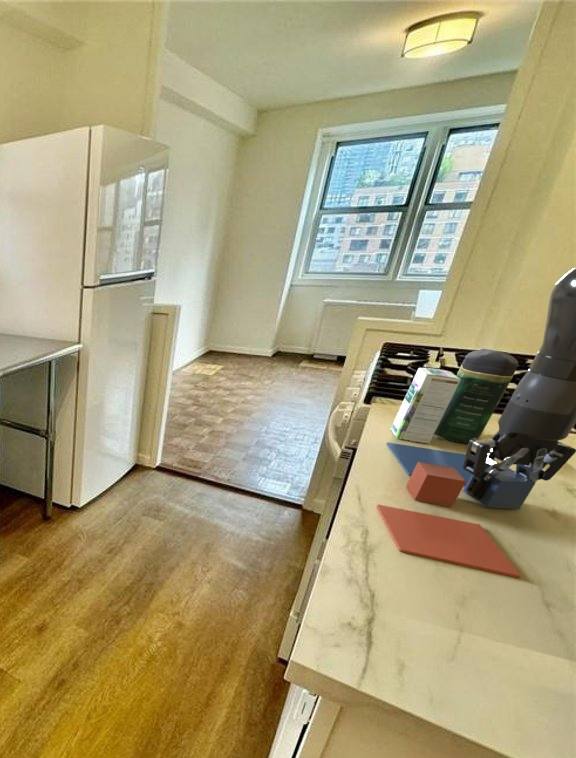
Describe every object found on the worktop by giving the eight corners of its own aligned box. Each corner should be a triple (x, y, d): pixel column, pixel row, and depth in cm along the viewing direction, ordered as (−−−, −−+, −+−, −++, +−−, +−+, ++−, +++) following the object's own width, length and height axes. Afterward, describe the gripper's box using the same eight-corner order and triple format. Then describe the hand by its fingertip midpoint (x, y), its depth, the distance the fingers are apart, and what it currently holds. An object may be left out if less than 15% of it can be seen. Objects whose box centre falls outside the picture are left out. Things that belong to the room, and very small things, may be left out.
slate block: (493, 492, 83) (508, 467, 81) (519, 509, 78) (536, 482, 76) (462, 491, 83) (475, 465, 81) (486, 507, 79) (501, 480, 77)
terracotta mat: (478, 526, 75) (479, 524, 75) (519, 578, 64) (521, 575, 64) (376, 506, 80) (377, 504, 79) (399, 551, 69) (400, 549, 69)
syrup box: (389, 429, 108) (416, 366, 101) (422, 434, 105) (452, 370, 99) (395, 439, 103) (425, 373, 97) (430, 444, 101) (463, 378, 94)
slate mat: (479, 458, 95) (479, 456, 95) (516, 494, 83) (517, 492, 83) (386, 443, 101) (387, 442, 101) (408, 475, 89) (409, 474, 89)
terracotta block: (441, 493, 84) (454, 467, 81) (452, 507, 80) (466, 481, 77) (405, 486, 85) (417, 461, 83) (414, 500, 81) (427, 474, 79)
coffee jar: (477, 448, 99) (524, 360, 91) (427, 436, 104) (468, 352, 96) (478, 434, 106) (522, 351, 97) (431, 424, 111) (469, 343, 102)
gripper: (516, 410, 70) (463, 508, 78) (625, 414, 69) (560, 513, 77) (474, 393, 77) (429, 484, 85) (573, 396, 76) (518, 488, 83)
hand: (491, 497), depth 81 cm, fingers closed on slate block, 5 cm apart
